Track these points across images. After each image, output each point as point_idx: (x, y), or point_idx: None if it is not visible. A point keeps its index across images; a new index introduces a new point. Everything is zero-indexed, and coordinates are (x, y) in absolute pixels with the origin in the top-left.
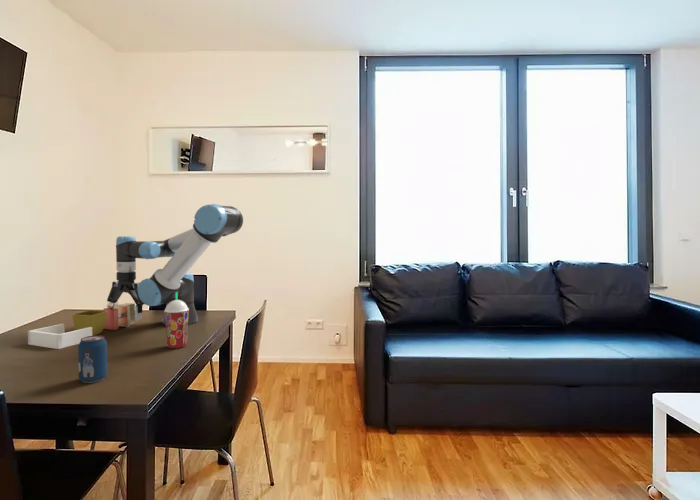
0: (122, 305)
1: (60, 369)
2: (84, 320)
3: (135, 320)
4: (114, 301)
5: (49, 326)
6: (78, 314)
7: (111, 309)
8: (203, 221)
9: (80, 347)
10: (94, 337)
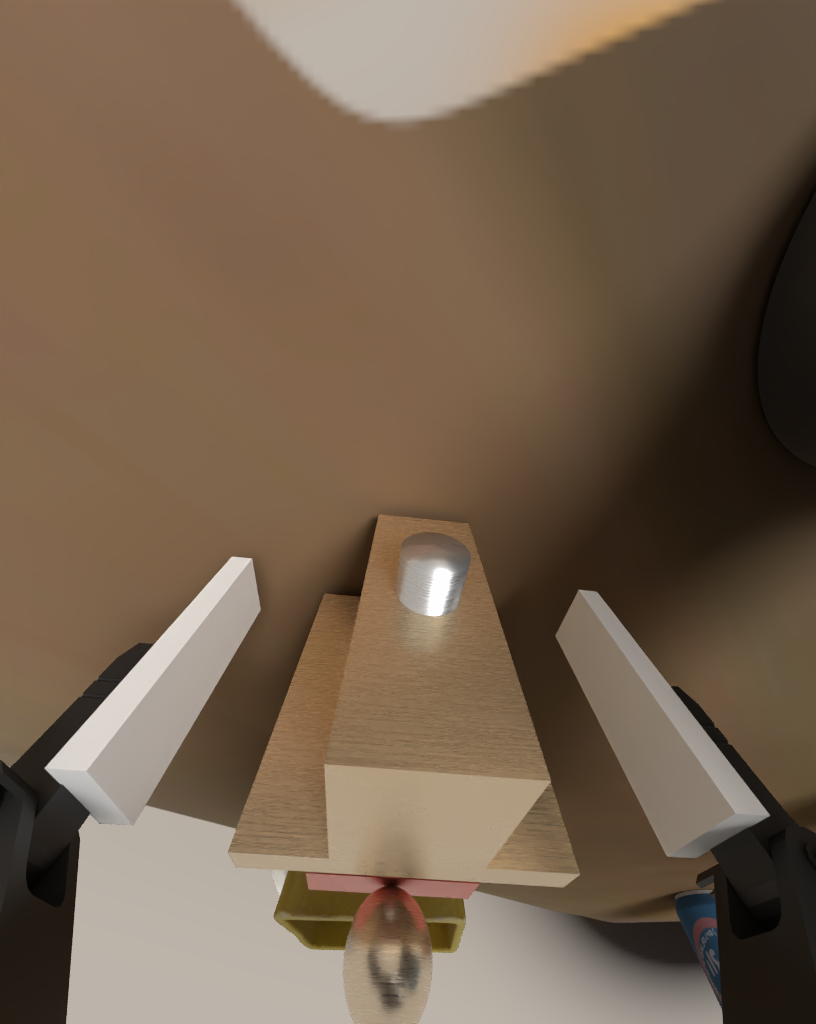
0: (441, 872)
1: (587, 882)
2: None
3: (560, 640)
4: (35, 854)
5: (274, 874)
6: (307, 924)
7: (430, 894)
8: None
9: None
10: None
